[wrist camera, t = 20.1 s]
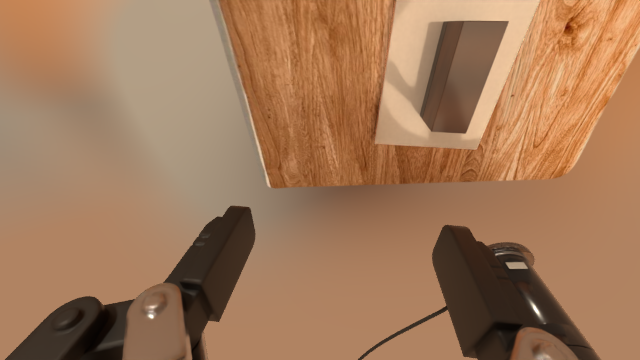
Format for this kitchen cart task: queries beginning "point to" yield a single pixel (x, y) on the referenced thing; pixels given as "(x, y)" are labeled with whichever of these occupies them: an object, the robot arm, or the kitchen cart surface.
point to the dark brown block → (460, 73)
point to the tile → (417, 59)
